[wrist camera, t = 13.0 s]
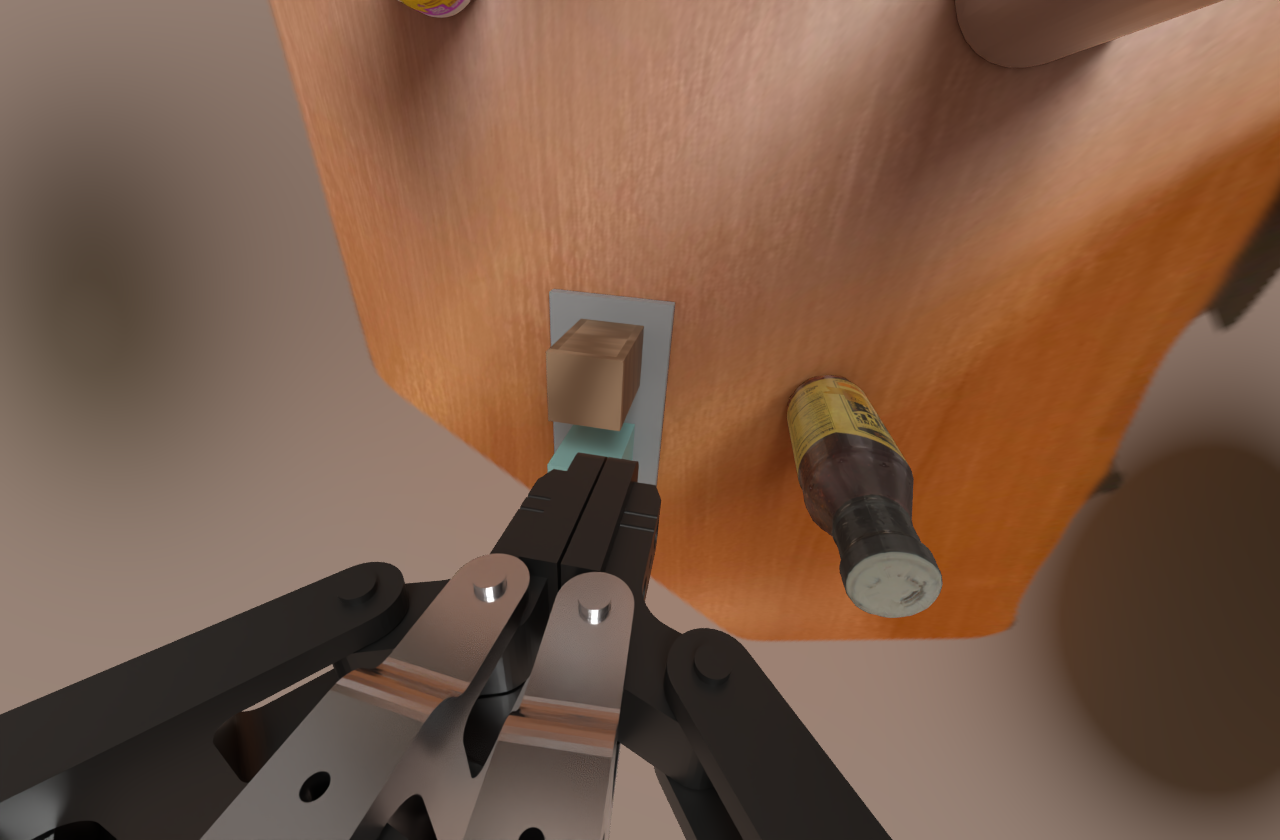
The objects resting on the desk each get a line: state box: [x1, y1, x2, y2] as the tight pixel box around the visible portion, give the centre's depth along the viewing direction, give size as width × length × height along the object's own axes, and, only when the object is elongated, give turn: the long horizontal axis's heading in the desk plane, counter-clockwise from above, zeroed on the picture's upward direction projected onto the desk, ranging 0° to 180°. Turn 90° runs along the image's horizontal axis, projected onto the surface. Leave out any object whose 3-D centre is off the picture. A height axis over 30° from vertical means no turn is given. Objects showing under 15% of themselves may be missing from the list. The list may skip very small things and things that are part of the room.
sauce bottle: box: [787, 375, 942, 618], centre depth 29 cm, size 6×6×20 cm
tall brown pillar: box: [546, 319, 644, 431], centre depth 34 cm, size 5×5×8 cm
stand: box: [547, 289, 675, 486], centre depth 37 cm, size 10×18×9 cm, turn 176°
